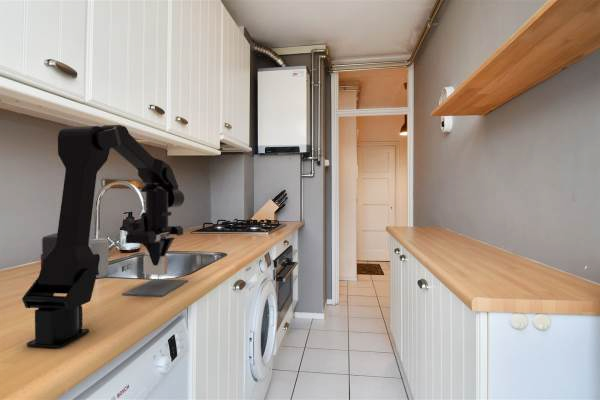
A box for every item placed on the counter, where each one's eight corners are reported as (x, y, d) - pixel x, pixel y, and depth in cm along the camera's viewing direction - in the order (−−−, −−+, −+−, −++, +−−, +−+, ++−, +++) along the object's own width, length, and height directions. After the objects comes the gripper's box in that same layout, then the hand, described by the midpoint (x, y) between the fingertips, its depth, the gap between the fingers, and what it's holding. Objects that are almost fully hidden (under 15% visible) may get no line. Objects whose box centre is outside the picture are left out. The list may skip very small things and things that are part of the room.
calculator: (55, 283, 91) (55, 232, 90) (73, 281, 92) (72, 231, 92) (39, 294, 80) (38, 237, 80) (59, 292, 82) (58, 236, 82)
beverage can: (92, 279, 94) (92, 240, 94) (88, 276, 98) (88, 239, 97) (110, 276, 98) (110, 239, 98) (105, 274, 101) (105, 237, 101)
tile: (163, 274, 85) (163, 256, 85) (143, 274, 86) (143, 256, 85) (167, 273, 86) (167, 255, 86) (147, 272, 87) (146, 255, 87)
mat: (162, 296, 79) (162, 295, 78) (122, 295, 80) (122, 293, 80) (188, 281, 92) (188, 280, 92) (153, 280, 94) (153, 279, 94)
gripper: (149, 207, 96) (150, 257, 96) (105, 209, 77) (106, 271, 77) (183, 207, 95) (184, 258, 95) (147, 210, 76) (147, 273, 76)
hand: (157, 264), depth 86 cm, fingers closed on tile, 2 cm apart
